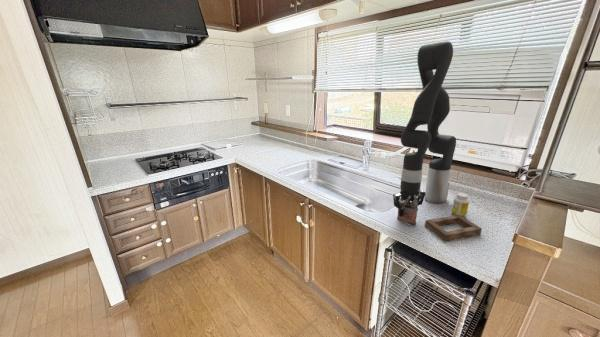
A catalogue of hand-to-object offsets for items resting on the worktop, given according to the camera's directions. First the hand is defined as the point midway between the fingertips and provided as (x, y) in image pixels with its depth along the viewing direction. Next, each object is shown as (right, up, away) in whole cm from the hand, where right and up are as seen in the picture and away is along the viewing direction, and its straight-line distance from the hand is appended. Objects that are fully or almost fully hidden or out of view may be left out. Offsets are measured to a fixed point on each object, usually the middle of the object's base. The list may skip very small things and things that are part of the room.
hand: (406, 214), depth 105 cm
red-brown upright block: (0, -4, +1) cm, 4 cm away
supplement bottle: (+25, -1, +4) cm, 25 cm away
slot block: (+15, -5, -7) cm, 17 cm away
